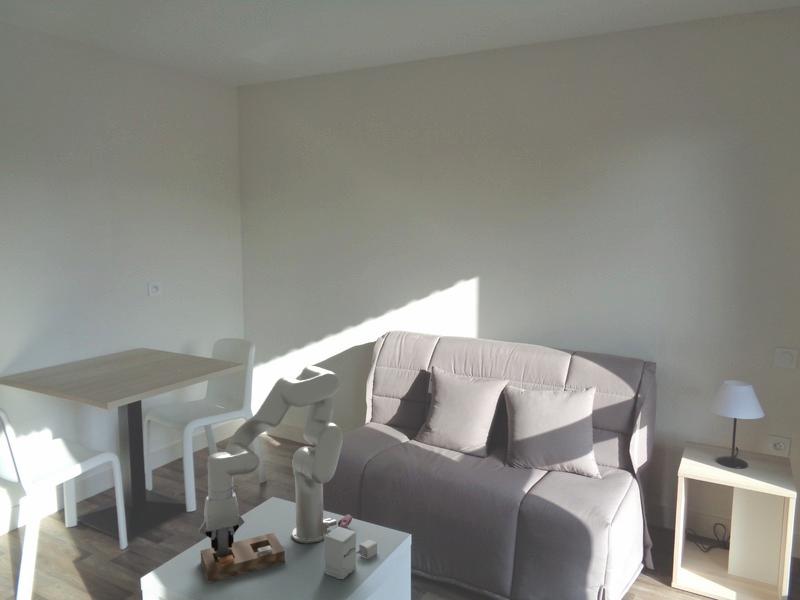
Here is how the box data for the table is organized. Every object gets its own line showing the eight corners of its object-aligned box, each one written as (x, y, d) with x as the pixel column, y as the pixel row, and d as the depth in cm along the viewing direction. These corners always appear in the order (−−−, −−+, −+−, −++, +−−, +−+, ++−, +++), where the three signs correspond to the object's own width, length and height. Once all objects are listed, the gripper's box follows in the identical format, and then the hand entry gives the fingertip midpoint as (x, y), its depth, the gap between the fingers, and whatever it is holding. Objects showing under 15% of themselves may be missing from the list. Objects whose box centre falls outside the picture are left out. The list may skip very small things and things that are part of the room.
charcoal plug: (228, 555, 188) (227, 519, 187) (230, 561, 185) (229, 525, 183) (215, 558, 186) (214, 522, 185) (217, 564, 183) (216, 528, 181)
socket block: (273, 543, 200) (273, 528, 199) (285, 562, 189) (284, 546, 188) (201, 562, 189) (200, 546, 188) (208, 583, 177) (207, 566, 177)
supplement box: (342, 580, 179) (342, 542, 177) (323, 573, 183) (323, 535, 181) (356, 569, 185) (356, 531, 183) (338, 562, 189) (337, 525, 187)
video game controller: (340, 544, 203) (349, 527, 202) (329, 537, 203) (338, 521, 202) (348, 529, 212) (356, 514, 211) (337, 523, 213) (345, 507, 212)
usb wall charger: (377, 554, 193) (377, 543, 193) (361, 563, 188) (361, 551, 188) (368, 549, 196) (368, 538, 196) (353, 558, 191) (353, 546, 191)
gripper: (245, 482, 190) (246, 536, 192) (191, 493, 182) (193, 548, 184) (250, 491, 184) (251, 546, 186) (195, 502, 176) (196, 560, 178)
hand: (222, 547), depth 185 cm, fingers closed on charcoal plug, 4 cm apart
